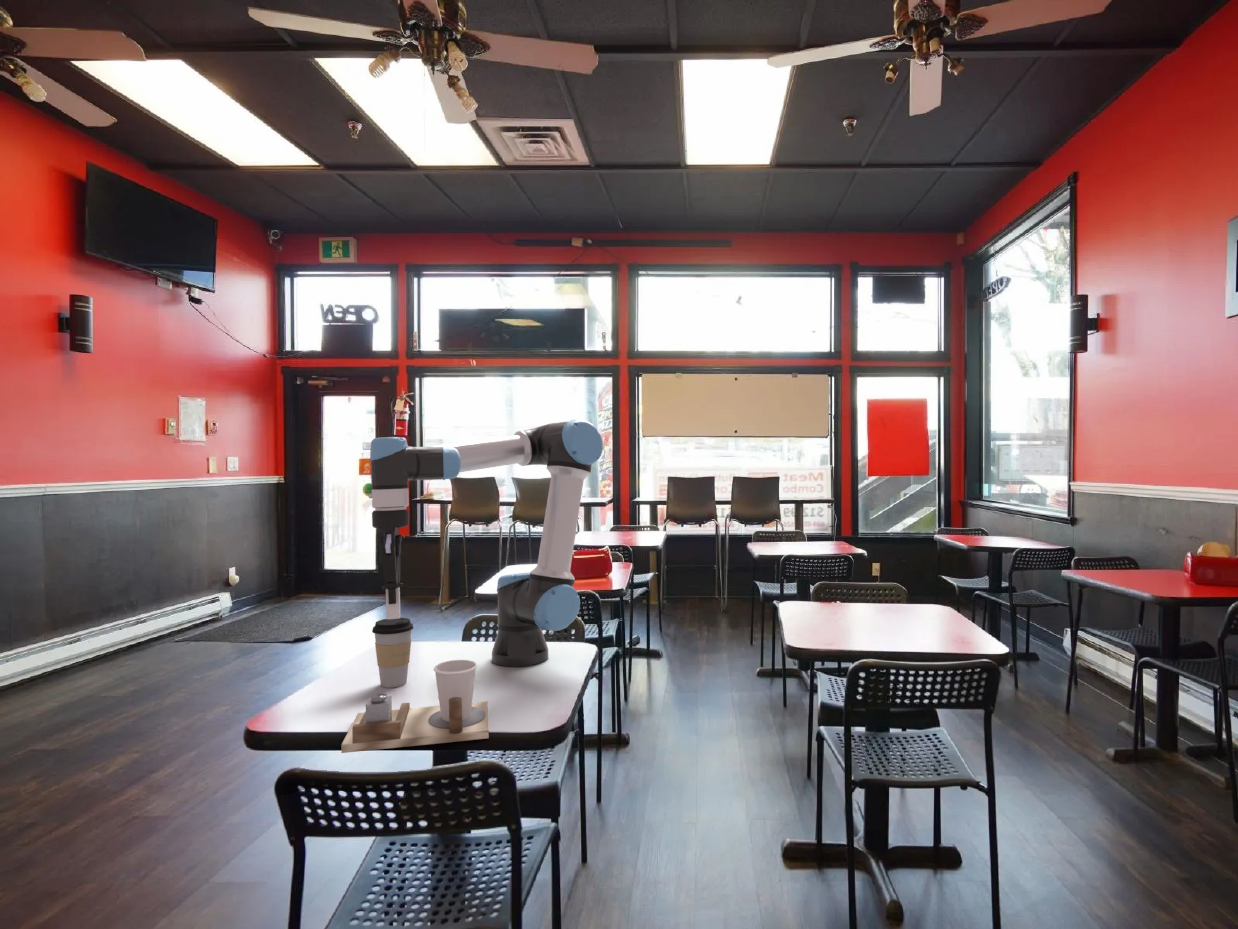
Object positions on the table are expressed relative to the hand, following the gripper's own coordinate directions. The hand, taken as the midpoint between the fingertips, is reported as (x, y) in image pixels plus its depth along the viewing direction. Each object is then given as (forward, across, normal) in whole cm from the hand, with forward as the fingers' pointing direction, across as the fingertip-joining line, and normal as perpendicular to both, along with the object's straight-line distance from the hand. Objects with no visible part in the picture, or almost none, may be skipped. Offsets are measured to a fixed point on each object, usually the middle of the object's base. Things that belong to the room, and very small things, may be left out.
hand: (393, 618), depth 138 cm
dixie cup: (+18, +14, +13) cm, 26 cm away
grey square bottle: (+17, +18, -1) cm, 25 cm away
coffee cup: (+20, -17, -2) cm, 26 cm away
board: (+19, +14, +6) cm, 24 cm away
